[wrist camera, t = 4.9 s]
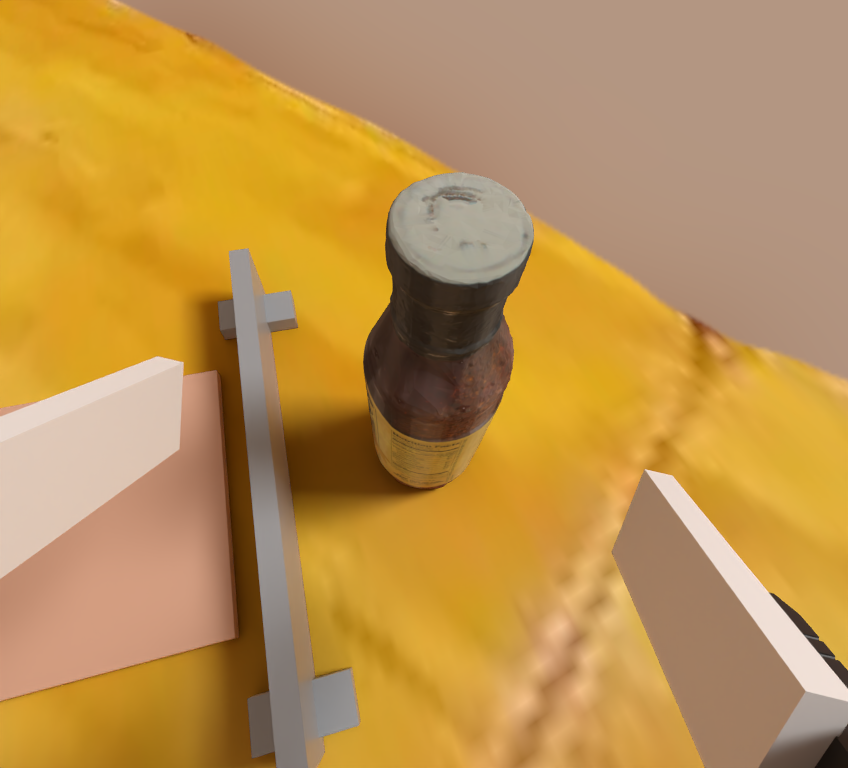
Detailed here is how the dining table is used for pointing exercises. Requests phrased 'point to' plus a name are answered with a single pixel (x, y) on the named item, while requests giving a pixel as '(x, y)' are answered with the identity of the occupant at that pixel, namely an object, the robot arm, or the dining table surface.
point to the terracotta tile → (130, 568)
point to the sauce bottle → (444, 324)
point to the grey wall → (279, 543)
